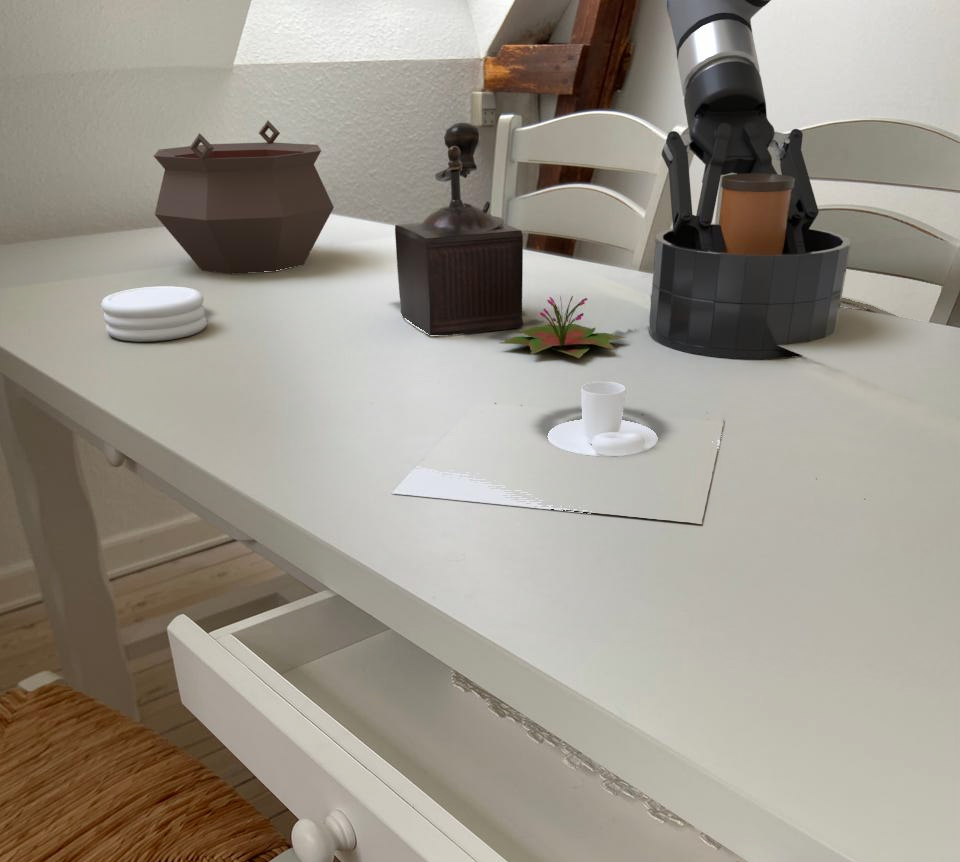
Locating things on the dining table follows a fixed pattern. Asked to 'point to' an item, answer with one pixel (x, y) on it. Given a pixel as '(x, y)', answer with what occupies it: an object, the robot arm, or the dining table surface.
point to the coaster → (154, 313)
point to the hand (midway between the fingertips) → (758, 293)
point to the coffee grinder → (460, 258)
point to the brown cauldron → (243, 203)
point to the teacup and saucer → (574, 436)
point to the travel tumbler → (755, 212)
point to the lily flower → (562, 334)
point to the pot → (746, 296)
